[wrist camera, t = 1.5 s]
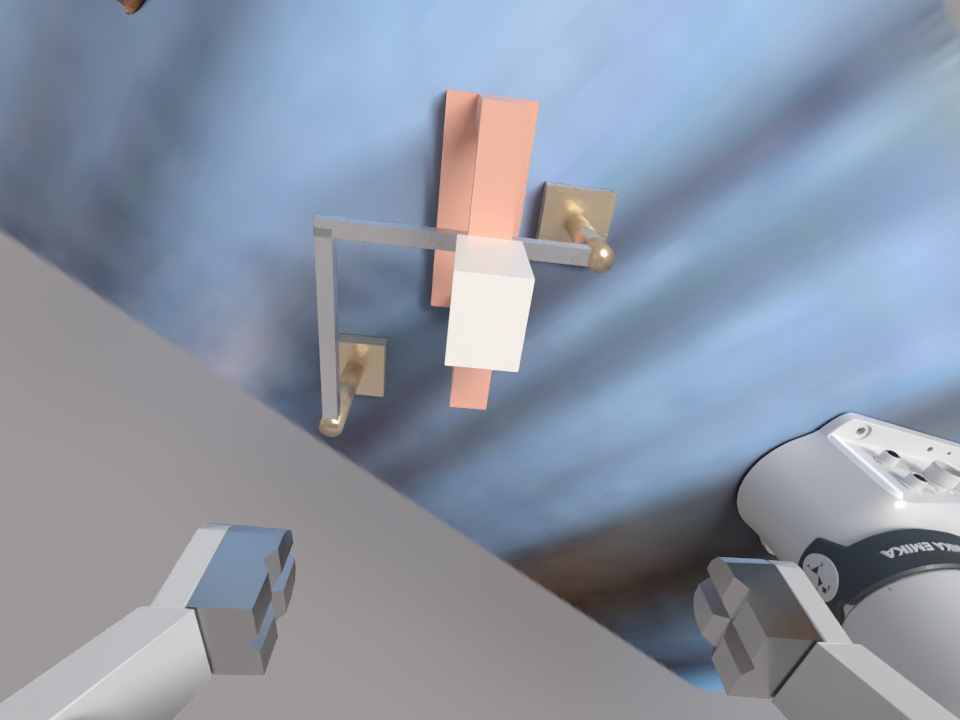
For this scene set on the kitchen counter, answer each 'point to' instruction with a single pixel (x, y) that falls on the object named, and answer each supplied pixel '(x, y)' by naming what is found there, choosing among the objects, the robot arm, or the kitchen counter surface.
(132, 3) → the sunglasses case
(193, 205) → the kitchen counter surface
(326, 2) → the kitchen counter surface
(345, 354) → the bent towel rail
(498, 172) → the pink frame with handle
